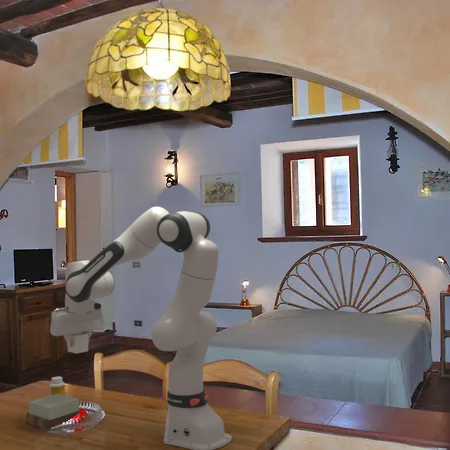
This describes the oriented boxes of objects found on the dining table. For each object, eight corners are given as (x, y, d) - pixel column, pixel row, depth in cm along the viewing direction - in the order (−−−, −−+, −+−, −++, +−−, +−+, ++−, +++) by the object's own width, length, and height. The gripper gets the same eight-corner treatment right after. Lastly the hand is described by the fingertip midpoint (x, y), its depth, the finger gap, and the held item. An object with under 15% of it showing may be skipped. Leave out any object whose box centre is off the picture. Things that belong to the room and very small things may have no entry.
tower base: (80, 422, 197) (80, 411, 197) (47, 433, 187) (46, 420, 187) (60, 415, 206) (60, 404, 206) (26, 424, 196) (26, 412, 196)
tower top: (79, 410, 197) (79, 399, 197) (49, 420, 188) (49, 408, 188) (58, 404, 205) (58, 393, 205) (28, 413, 195) (28, 401, 195)
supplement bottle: (67, 404, 216) (66, 377, 216) (53, 407, 213) (52, 380, 213) (61, 401, 220) (60, 375, 221) (47, 404, 217) (46, 377, 217)
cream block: (88, 351, 199) (88, 334, 199) (75, 353, 196) (75, 336, 196) (80, 349, 203) (80, 332, 203) (67, 351, 199) (67, 334, 199)
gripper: (56, 309, 189) (56, 351, 189) (107, 303, 205) (107, 342, 204) (46, 308, 194) (46, 348, 193) (96, 302, 209) (96, 339, 209)
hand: (78, 345), depth 199 cm, fingers closed on cream block, 5 cm apart
